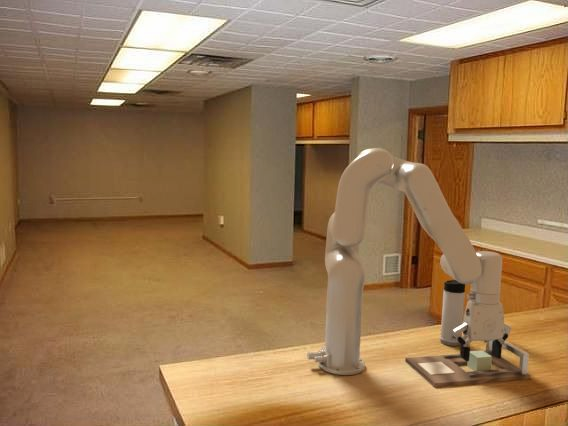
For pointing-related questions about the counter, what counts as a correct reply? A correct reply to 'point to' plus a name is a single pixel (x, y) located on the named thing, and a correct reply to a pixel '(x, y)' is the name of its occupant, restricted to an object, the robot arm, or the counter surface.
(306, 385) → the counter surface
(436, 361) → the board
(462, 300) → the travel mug
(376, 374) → the counter surface
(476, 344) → the counter surface
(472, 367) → the block
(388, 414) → the counter surface
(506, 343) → the gate
